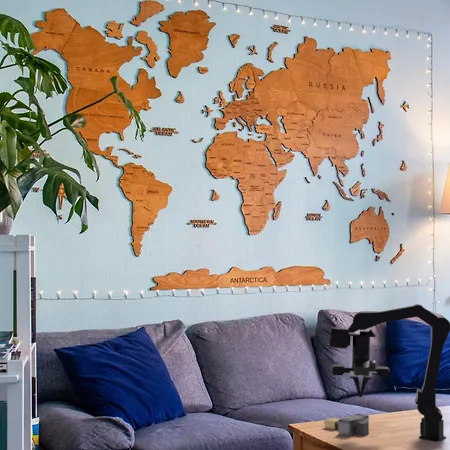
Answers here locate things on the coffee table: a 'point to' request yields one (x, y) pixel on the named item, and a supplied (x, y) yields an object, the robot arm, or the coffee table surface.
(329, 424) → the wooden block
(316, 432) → the coffee table surface
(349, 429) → the curved dark grey plate
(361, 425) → the stepped grey block
